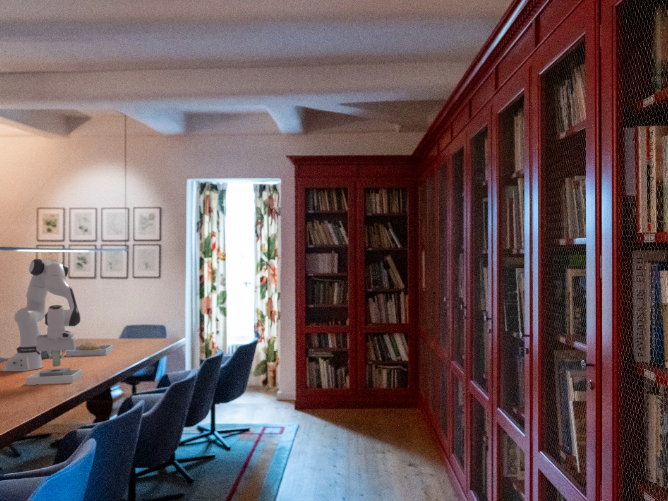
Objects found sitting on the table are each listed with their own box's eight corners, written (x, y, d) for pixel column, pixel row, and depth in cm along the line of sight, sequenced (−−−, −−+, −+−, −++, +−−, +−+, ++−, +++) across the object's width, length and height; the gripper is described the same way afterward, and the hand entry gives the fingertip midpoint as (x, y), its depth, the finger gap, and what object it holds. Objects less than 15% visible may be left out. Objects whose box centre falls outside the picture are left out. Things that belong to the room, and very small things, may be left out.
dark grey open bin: (36, 358, 365) (36, 350, 366) (44, 354, 381) (44, 346, 381) (48, 358, 367) (48, 349, 367) (56, 354, 383) (56, 346, 383)
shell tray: (65, 356, 374) (65, 350, 374) (75, 351, 394) (75, 346, 395) (106, 355, 378) (106, 349, 378) (113, 350, 399) (113, 344, 399)
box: (25, 385, 288) (25, 374, 288) (38, 377, 305) (38, 368, 306) (72, 382, 292) (72, 372, 292) (82, 375, 309) (82, 366, 310)
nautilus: (81, 351, 394) (103, 351, 398) (75, 354, 374) (98, 354, 378) (82, 340, 395) (103, 340, 399) (76, 343, 374) (99, 343, 378)
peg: (51, 366, 297) (51, 350, 297) (54, 365, 301) (53, 349, 301) (59, 366, 297) (58, 350, 298) (61, 364, 301) (61, 349, 301)
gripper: (34, 335, 294) (34, 360, 294) (73, 334, 298) (73, 358, 298) (38, 334, 301) (38, 358, 300) (76, 332, 304) (77, 356, 304)
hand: (56, 358), depth 299 cm, fingers closed on peg, 4 cm apart
